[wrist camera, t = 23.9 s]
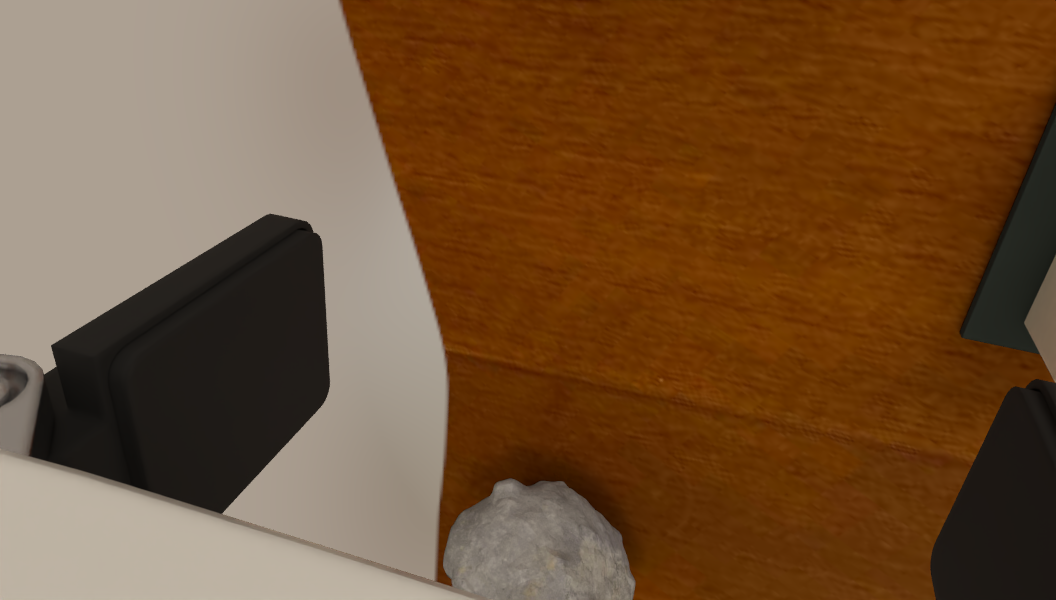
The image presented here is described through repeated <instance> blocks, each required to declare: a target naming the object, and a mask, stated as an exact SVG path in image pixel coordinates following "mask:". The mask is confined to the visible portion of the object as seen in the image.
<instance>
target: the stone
mask: <svg viewBox="0 0 1056 600" xmlns="http://www.w3.org/2000/svg"><path fill="white" fill-rule="evenodd" d="M443 567H444V569H445V572H446V574H447V576H448V577H449V578H450V579H452V586H453V587H454V588H457V589H460V590H464V591H467V592H470V593H473V594H476V595H479V596H482V597H485V598H489V599H492V600H633V595H634V589H635V580H634V577H633V576H632V574H631V572H630V569H629V562H628V559H627V555H626V552H625V550H624V547H623V544H622V536H621V534H620V533H619V531H617V530H616V529H615V528H614V527H612V526H611V525H610V524H609V522H608V521H607V520H606V519H605V518H604V516H603V515H602V514H601V513H599V512H598V511H596V510H595V509H594V508H593V507H592V506H591V505H590V503H589V502H588V501H587V500H586V499H585V498H583V497H582V496H581V495H579V494H577V493H576V492H575V491H574V490H572V489H571V488H569V487H568V486H567V485H566V484H565V483H564V482H562V481H556V482H549V481H539V482H537V483H536V484H534V485H532V486H525V485H523V484H522V483H520V482H519V481H517V480H515V479H511V478H509V479H506V480H502V481H499V482H497V483H496V484H495V485H494V489H493V492H492V494H491V495H490V496H489V497H487V498H485V499H483V500H482V501H480V502H479V503H477V504H476V505H474V506H473V507H470V508H468V509H466V510H464V511H463V512H462V513H461V514H460V515H459V516H458V518H457V519H456V521H455V523H454V525H453V526H452V527H451V530H450V534H449V537H448V542H447V546H446V549H445V554H444V560H443Z"/></svg>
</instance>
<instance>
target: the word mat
mask: <svg viewBox="0 0 1056 600" xmlns="http://www.w3.org/2000/svg"><path fill="white" fill-rule="evenodd" d="M1055 255H1056V105H1055V107H1054V110H1053V112H1052V114H1051V117H1050V119H1049V122H1048V124H1047V126H1046V129H1045V131H1044V133H1043V136H1042V138H1041V141H1040V143H1039V145H1038V148H1037V150H1036V152H1035V155H1034V157H1033V160H1032V162H1031V164H1030V167H1029V169H1028V171H1027V174H1026V176H1025V178H1024V181H1023V183H1022V186H1021V188H1020V190H1019V193H1018V195H1017V197H1016V200H1015V202H1014V205H1013V207H1012V209H1011V212H1010V214H1009V216H1008V219H1007V221H1006V224H1005V226H1004V228H1003V231H1002V233H1001V235H1000V238H999V240H998V243H997V245H996V247H995V250H994V252H993V254H992V257H991V259H990V262H989V264H988V266H987V269H986V271H985V273H984V276H983V278H982V280H981V283H980V285H979V288H978V290H977V292H976V295H975V297H974V299H973V302H972V304H971V307H970V309H969V311H968V314H967V316H966V318H965V321H964V323H963V326H962V328H961V330H960V334H961V337H962V338H965V339H970V340H975V341H980V342H984V343H989V344H994V345H999V346H1003V347H1008V348H1013V349H1018V350H1023V351H1027V352H1032V353H1037V354H1040V353H1039V351H1038V349H1037V347H1036V345H1035V343H1034V341H1033V339H1032V337H1031V335H1030V334H1029V332H1028V330H1027V328H1026V326H1025V324H1024V322H1025V319H1026V317H1027V315H1028V313H1029V311H1030V309H1031V307H1032V304H1033V302H1034V300H1035V298H1036V296H1037V294H1038V292H1039V289H1040V287H1041V285H1042V283H1043V281H1044V279H1045V277H1046V274H1047V272H1048V270H1049V268H1050V266H1051V264H1052V262H1053V259H1054V257H1055Z"/></svg>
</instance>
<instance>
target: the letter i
mask: <svg viewBox="0 0 1056 600" xmlns="http://www.w3.org/2000/svg"><path fill="white" fill-rule="evenodd" d="M1024 324H1025V326H1026V328H1027V330H1028V332H1029V334H1030V335H1031V337H1032V339H1033V341H1034V343H1035V345H1036V347H1037V349H1038V351H1039V353H1040V355H1041V357H1042V358H1043V360H1044V362H1045V364H1046V366H1047V368H1048V370H1049V372H1050V374H1051V376H1052V378H1053V380H1054V381H1055V383H1056V255H1055V257H1054V259H1053V262H1052V264H1051V266H1050V268H1049V270H1048V272H1047V274H1046V277H1045V279H1044V281H1043V283H1042V285H1041V287H1040V289H1039V292H1038V294H1037V296H1036V298H1035V300H1034V302H1033V304H1032V307H1031V309H1030V311H1029V313H1028V315H1027V317H1026V319H1025V322H1024Z"/></svg>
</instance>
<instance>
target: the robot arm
mask: <svg viewBox="0 0 1056 600" xmlns="http://www.w3.org/2000/svg"><path fill="white" fill-rule="evenodd" d="M51 347H52V351H53V355H54V358H55V362H56V366H57V367H55V368H54V369H52V370H51V371H49V372H48V373H46V374H43V370H42V369H41V367H40V366H39V365H38V364H37V363H36V362H34V361H32V360H29V359H27V358H24V357H21V356H13V355H4V354H0V600H492V599H489V598H485V597H482V596H479V595H476V594H473V593H470V592H467V591H464V590H460V589H457V588H454V587H451V586H448V585H445V584H442V583H439V582H435V581H432V580H429V579H426V578H423V577H420V576H417V575H413V574H410V573H407V572H404V571H401V570H398V569H394V568H391V567H388V566H385V565H382V564H379V563H376V562H372V561H369V560H366V559H363V558H360V557H357V556H354V555H351V554H347V553H344V552H341V551H337V550H334V549H332V548H328V547H325V546H322V545H319V544H315V543H312V542H309V541H305V540H303V539H299V538H296V537H293V536H290V535H287V534H283V533H280V532H277V531H274V530H270V529H268V528H264V527H261V526H258V525H255V524H252V523H249V522H245V521H242V520H239V519H236V518H233V517H229V516H226V515H223V514H222V513H223V512H224V511H225V510H226V508H227V507H228V506H229V505H230V504H231V503H232V502H233V501H234V500H235V499H236V498H237V497H238V495H239V494H240V493H241V492H242V491H243V490H244V489H245V488H246V487H247V486H248V485H249V484H250V483H251V481H252V480H253V479H254V478H255V477H256V476H257V475H258V474H259V473H260V472H261V471H262V470H263V469H264V468H265V466H266V465H267V464H268V463H269V462H270V461H271V460H272V459H273V458H274V457H275V456H276V455H277V453H278V452H279V451H280V450H281V449H282V448H283V447H284V446H285V445H286V444H287V443H288V442H289V441H290V439H291V438H292V437H293V436H294V435H295V434H296V433H297V432H298V431H299V430H300V429H301V428H302V427H303V426H304V424H305V423H306V422H307V421H308V420H309V419H310V418H311V417H312V416H313V415H314V414H315V413H316V412H317V410H318V409H319V408H320V407H321V406H322V405H323V403H324V401H325V399H326V397H327V395H328V392H329V387H330V376H329V358H328V340H327V322H326V304H325V287H324V268H323V250H322V241H321V238H320V236H319V235H318V234H317V233H313V230H312V227H311V225H310V224H308V222H307V221H302V220H298V219H293V218H288V217H283V216H279V215H274V214H269V215H266V216H264V217H262V218H260V219H259V220H257V221H255V222H254V223H252V224H251V225H249V226H247V227H246V228H244V229H242V230H241V231H239V232H237V233H236V234H234V235H232V236H231V237H229V238H227V239H226V240H224V241H222V242H221V243H219V244H218V245H216V246H214V247H213V248H211V249H209V250H208V251H206V252H204V253H203V254H201V255H199V256H198V257H196V258H195V259H193V260H191V261H189V262H188V263H186V264H185V265H183V266H181V267H180V268H178V269H176V270H175V271H173V272H172V273H170V274H168V275H166V276H165V277H163V278H162V279H160V280H158V281H157V282H155V283H153V284H152V285H150V286H148V287H147V288H145V289H143V290H142V291H140V292H138V293H137V294H135V295H133V296H132V297H130V298H129V299H127V300H125V301H124V302H122V303H120V304H119V305H117V306H115V307H114V308H112V309H110V310H109V311H107V312H105V313H104V314H102V315H100V316H99V317H97V318H96V319H94V320H92V321H91V322H89V323H87V324H86V325H84V326H83V327H81V328H79V329H77V330H76V331H74V332H72V333H71V334H69V335H68V336H66V337H64V338H63V339H61V340H59V341H58V342H56V343H55V344H53V345H51ZM931 576H932V581H933V587H934V592H935V597H936V600H1056V383H1053V382H1048V381H1043V380H1039V379H1036V380H1033V381H1031V382H1030V383H1029V384H1028V385H1027V386H1026V388H1020V387H1013V388H1011V389H1010V391H1009V392H1008V393H1007V395H1006V396H1005V398H1004V400H1003V402H1002V405H1001V407H1000V409H999V411H998V413H997V415H996V417H995V419H994V421H993V423H992V425H991V427H990V430H989V432H988V434H987V436H986V438H985V440H984V442H983V444H982V446H981V448H980V450H979V453H978V455H977V457H976V459H975V461H974V463H973V465H972V467H971V469H970V471H969V473H968V475H967V478H966V480H965V482H964V484H963V486H962V488H961V490H960V492H959V494H958V496H957V498H956V501H955V503H954V505H953V507H952V509H951V511H950V513H949V515H948V517H947V519H946V521H945V523H944V526H943V528H942V530H941V532H940V534H939V536H938V538H937V540H936V542H935V545H934V548H933V551H932V556H931Z"/></svg>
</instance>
